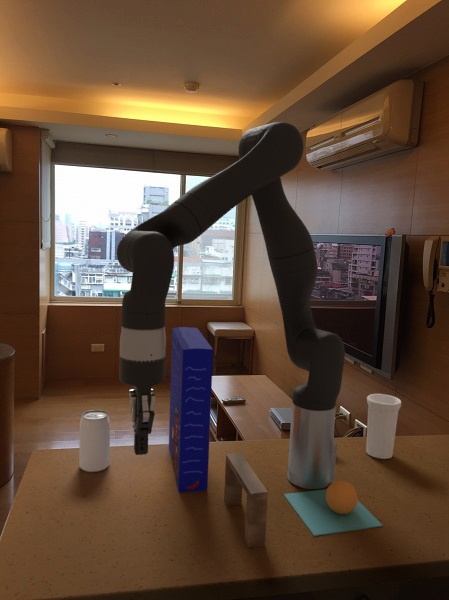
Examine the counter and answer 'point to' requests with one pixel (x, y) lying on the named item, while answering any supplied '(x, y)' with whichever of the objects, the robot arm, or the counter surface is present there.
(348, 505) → the ball
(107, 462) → the can
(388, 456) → the cup
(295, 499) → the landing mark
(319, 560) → the counter surface
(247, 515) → the bridge
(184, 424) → the cereal box
